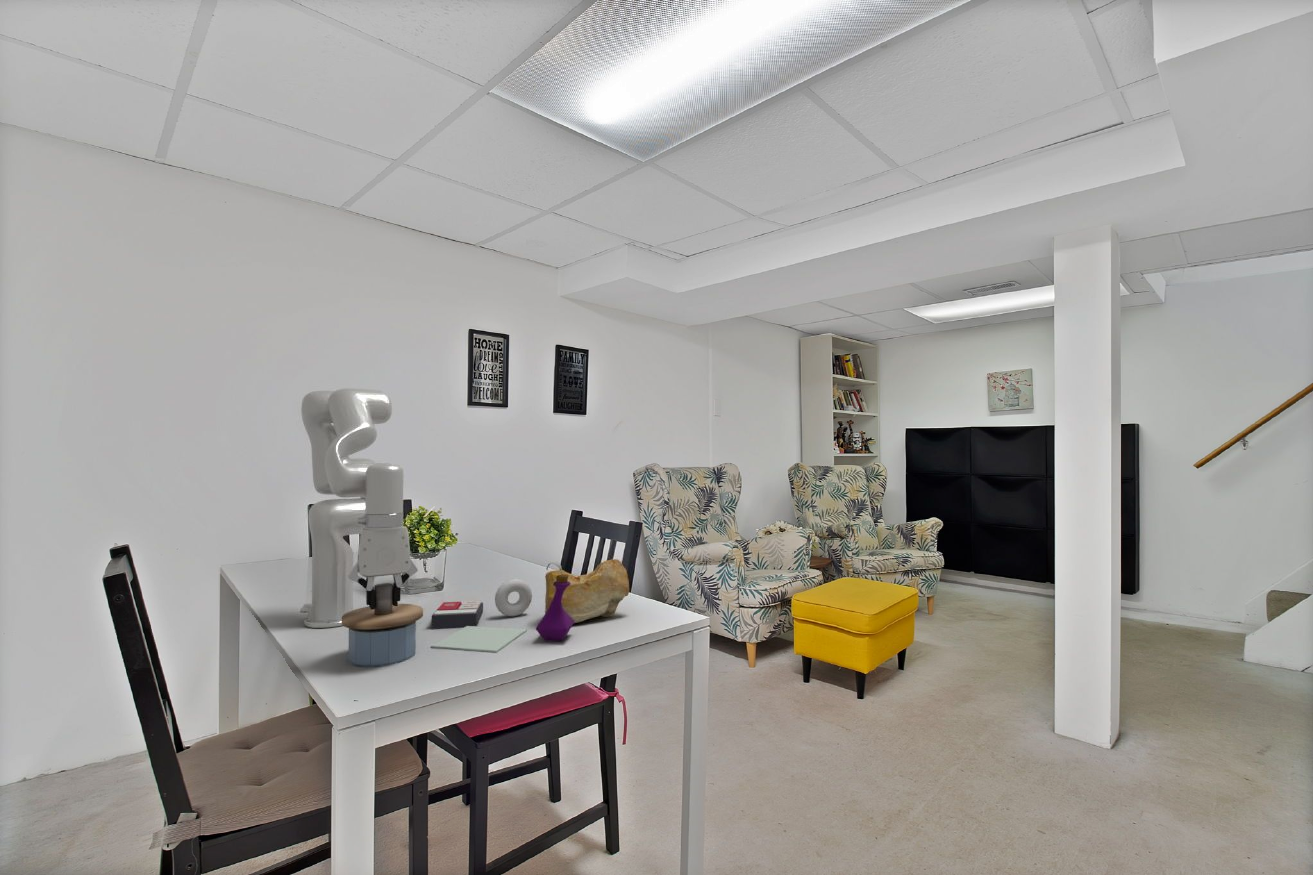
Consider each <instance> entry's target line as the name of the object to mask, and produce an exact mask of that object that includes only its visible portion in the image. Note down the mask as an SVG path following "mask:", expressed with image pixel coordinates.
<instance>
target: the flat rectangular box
mask: <svg viewBox="0 0 1313 875" xmlns="http://www.w3.org/2000/svg"><path fill="white" fill-rule="evenodd" d="M483 613H484V602H482V601H481V600H469V601H468V600H467V601H463V602H462V601H443V602H442V604H441V605H439V607H438V608H437V609H436V610H435V611H434V613H432V614H431V630H443V629H444V630H445V629H462V628H464V627H466V626H477V627H478V625H479V622H480V620H481V618H482V615H483Z"/></svg>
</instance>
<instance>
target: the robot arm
mask: <svg viewBox="0 0 1313 875" xmlns="http://www.w3.org/2000/svg"><path fill="white" fill-rule="evenodd" d="M300 411H301V418H302V422H303V426H304V429H305V431H306V433H307V436H308V439H309V441H310V446H311V462H312V463H311V466H312V469H311V470H312V481H313V487H314V489H315V491H316V492H317V493H318V494H320V495H327V496H328V495H331V496H332V495H335V496H336V497H339V498H337V499H336V498H335V499H324V500H320V501H317V502H315V503H314V504H312V505H311V507H310V508H309V511H308V517H307V519H308V526H309V531H310V538H311V603H304V604H303V605H302V607H300V609H299V611H300V613H303V614H307V617H306V618H305V619H304V620H303V622H304V626H306V627H308V628H315V629H316V628H317V629H323V628H327V629H328V628H334V627H340V626H343V625H342V616H343V615H344V614H345V613H347V612H350V611H352V610H354V582H355V583H357V584H359V585H360V586H361V587H363V588H364V589H365V590H366V591H365V592H366V594H365V595H366V596H365V598H366V599H365V600H366V601H365V603H366V606H369V607H370V609H371V610H372V609H375V590H374V587H375V586H374V585H375V584H374V583H375V578H377V577H384V576H392V579H393V583H392V584H393V606H398V604H399V602H400V601H401V590H402V589H401V587H402V586H403V585H404V583H405V582H406V581H407V580H408V579H409V578H411V577H412V576H413V575H415V574H417V572H419V570H418V567H417V566H416V565H415V563H414V562H413V561H412V559H411V548H410V537H409V536H410V535H409V531H408V526H404V469H403V467H402V466H401V465H397V464H391V463H386V462H385V463H384V462H379V463H378V462H375V461H374V460H373V459H369V458H350V455H353V454H357V453H359V452H361V451H363V450H366V449H367V448H369V447H371V445H373V444H374V442H375V441H376V439H377V437H378V433H377V428H376V427H375V425H381V424H386V423H387V422H388V421H389V420H390V419H391V417H392V414H393V405H392V401H391V398H390V397H389V395H388V394H387V393H386V392H384V391H382V390H379V389H378V390H377V389H365V388H364V389H363V388H340V389H336V390H317V391H311V392H308V393H307V394H306V395H304V397H303V398H302V402H301V410H300ZM350 535H351V536H352V535H360V536H359V543H358V548H357V549H358V550H357V561H356V563H355V564H354V561H355V560H354V551H353V548H352V547H351V545H350V544H349V543H348V542H347V541H346V540H345V539H344V537H345V536H350ZM358 574H359V575H358ZM364 577H365V578H364Z"/></svg>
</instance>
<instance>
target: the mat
mask: <svg viewBox="0 0 1313 875" xmlns="http://www.w3.org/2000/svg"><path fill="white" fill-rule="evenodd" d="M527 631H528V630H527V629H524V628H523V629H522V628H509V627H508V628H506V627H492V626H491V627H488V626H478V625H477V626H466V627H464V628H459V630H457V631H455V632H453V633H452V634H449V635H448V636H446V637H445V638H443V639H441V640H438V642H435V643H434V644H432V645H430V648H431V649H441V650H442V649H443V650H456V651H457V650H458V651H468V652H469V651H471V652H472V651H473V652H487V653H498V652H500V651H502V649H504V648H505V647H507V646H508V645H509V644H511V643H512V642H514V641H516V640H517V639H518V638H519V637H520V636H523V634H525V633H526V632H527Z"/></svg>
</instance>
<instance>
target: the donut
mask: <svg viewBox="0 0 1313 875" xmlns="http://www.w3.org/2000/svg"><path fill="white" fill-rule="evenodd" d="M513 592H516V593H518V594H519V599H518V600H517V601H516V602H515V603H511V602H510V601H509V600H508V599H509V596H510V594H511V593H513ZM494 595H495V596H494V603H495V607H496V609H497V611H498V612H500V614H502V615H504V616H506V617H516V616H517V617H518V616H520V615H522V614H523V613H525V612H526V611H527V610H528V609H529V607H530V605H531V603H532V598H533V592H532V589H531V587H530V585H529V584H528V583H527V582H526V581H525V580H523V579H519V578H512V579H507V580H506V581H504V582H502V583H501V585H499V587H498V588H497V590H496V592H495V594H494Z"/></svg>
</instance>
